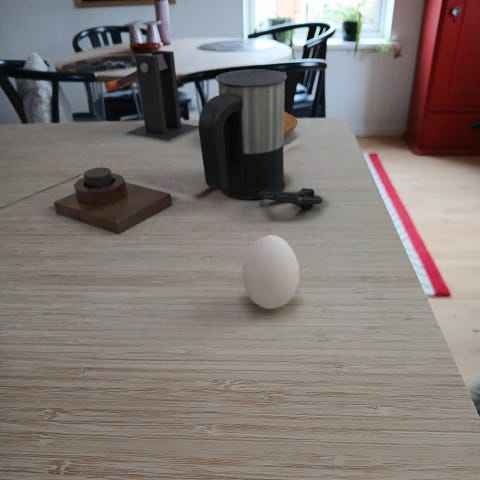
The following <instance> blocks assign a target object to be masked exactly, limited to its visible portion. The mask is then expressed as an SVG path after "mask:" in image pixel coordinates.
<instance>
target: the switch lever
mask: <svg viewBox="0 0 480 480" xmlns="http://www.w3.org/2000/svg"><path fill="white" fill-rule="evenodd" d="M156 56H158V63H159V71H160V72H161V71H163V70H165V69H167V65H166V62H165V60H164V57H163V54H159V55H156ZM136 79H138V75H137V70H134V71H133V72H130V73H129V74H126V75H125V76H123V77H120V78H118V79H114V80H110V81H107V82H105V84H104V87H105V89H106V91H108V92H111V91H114V90H119V89H121V88H125V87H128V86H130V84H131V82H132V81H135V80H136Z"/></svg>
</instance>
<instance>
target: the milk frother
mask: <svg viewBox="0 0 480 480" xmlns="http://www.w3.org/2000/svg"><path fill="white" fill-rule="evenodd" d="M287 78H288V75H287V73H285V72H283V71H279V70H270V69H259V68H258V69H256V68H255V69H254V68H253V69H252V68H251V69H239V70H233V71H231V70H230V71H228V72H224V73H220V74H218V75H216V76H215V81H216V82H217V84H218V95H216V96H213V97H211V98H210V99H208V101H207V102H206V103H205V104H204V105H203V106H202V108H201V111H200V114H199V118H198V126H199V128H198V134H199V143H200V152H201V159H202V166H203V173H204V180H205V184H206V186H207V187H208V188H210V189H215V190H218V191H222V192H223V193H224V194H226V195H227V196H230V197H233V198H237V199H241V200H260V199H264V200H269V201H276V202H282V203H283V202H285V203H290V204H292V205H295V206H297V207H298V208H300V209H303V210H312V209H313V207H314V205H321V204H323V197H321V196H319V195H316V192H315V190H314V189H313V188H307V187H305V188H304V187H302V188H301V189H300V190H298V191H297V192H287V191H284V190H285V188H286V182H285V172H284V170H285V169H284V142H283V140H284V111H285V83H286V82H285V81H286V80H287Z"/></svg>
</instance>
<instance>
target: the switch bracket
mask: <svg viewBox="0 0 480 480" xmlns="http://www.w3.org/2000/svg"><path fill="white" fill-rule="evenodd" d="M159 54H163V57H164V60H165V62H166V65H167V69H165V70H163V71H161V72H160V71H159V63H158V56H156V55H159ZM134 60H135V67H136V71H137V75H138V78H137V81H138V88H139V94H140V101H141V109H142V115H143V122H144V125H142V126H140V127H137V128H135V129H132V130H129V131H127V134H131V135H136V136H142V137H146V138H151V139H157V140H161V141H167V142H169V141H171V140H173V139H176V138H178V137H180V136H183V135H185V134H187V133H190V132H192V131H194V130H197V129H199V125H195V124H193V125H192V124H187V123H182V121H181V119H182V118H181V110H180V101H179V100H180V99H179V91H178V82H177V73H176V72H177V71H176V63H175V62H176V61H175V54H174V51H170V50H158V49H153V50H150V54H146V53H145V54H144V53H143V54H142V53H137V54H134Z"/></svg>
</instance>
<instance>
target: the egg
mask: <svg viewBox="0 0 480 480" xmlns="http://www.w3.org/2000/svg"><path fill="white" fill-rule="evenodd" d="M242 265H243V266H242V284H243V286H244V287H243V288H244V290H245V292H246V294H247V295H248V298H249V299H250V300H251V301H252V302H253V303H254V304H256V306H259V307H260V308H263V309H266V310H267V309H268V310H274V309H275V310H276V309H279V308H281V307H284V306H285V305H287V303H289V302H290V301H291V300H292V298H293V296H294V295H295V294H296V292H297V289H298V287H299V284H300V283H299V282H300V266H299V262H298V258H297V256H296V254H295V252H294V250H293V248H292V247H291V246H290V244H289V243H288V242H287V241H286V240H285V239H283V238H282V237H279V236H277V235H274V234H269V235H268V234H267V235H264V236H262V237H260V238H259V239H257V240H256V241H255V242H254V243H253V244H252V246H251V247H250V248H249V250H248V251H247V253H246V256H245V258H244V261H243V264H242Z"/></svg>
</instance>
